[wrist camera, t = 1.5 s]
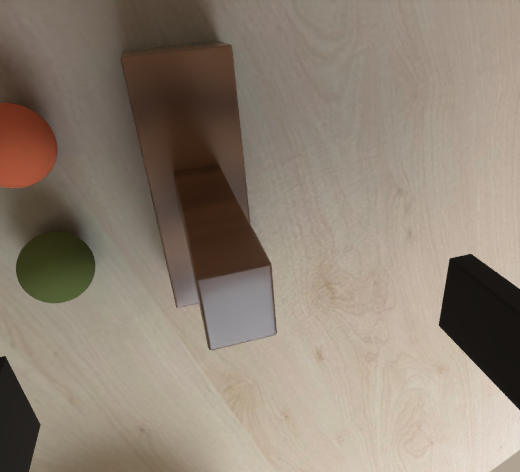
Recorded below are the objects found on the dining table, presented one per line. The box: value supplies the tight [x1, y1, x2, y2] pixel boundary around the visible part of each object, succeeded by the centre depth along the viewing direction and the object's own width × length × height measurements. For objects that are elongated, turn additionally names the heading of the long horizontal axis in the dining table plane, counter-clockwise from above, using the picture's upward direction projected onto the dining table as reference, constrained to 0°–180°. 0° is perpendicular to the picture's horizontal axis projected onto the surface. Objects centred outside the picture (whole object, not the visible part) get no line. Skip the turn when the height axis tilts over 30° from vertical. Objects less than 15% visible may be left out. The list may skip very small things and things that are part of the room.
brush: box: [121, 41, 277, 350], centre depth 19 cm, size 14×5×14 cm, turn 4°
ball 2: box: [16, 232, 95, 303], centre depth 24 cm, size 4×4×4 cm
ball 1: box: [0, 103, 57, 188], centre depth 20 cm, size 4×4×4 cm
